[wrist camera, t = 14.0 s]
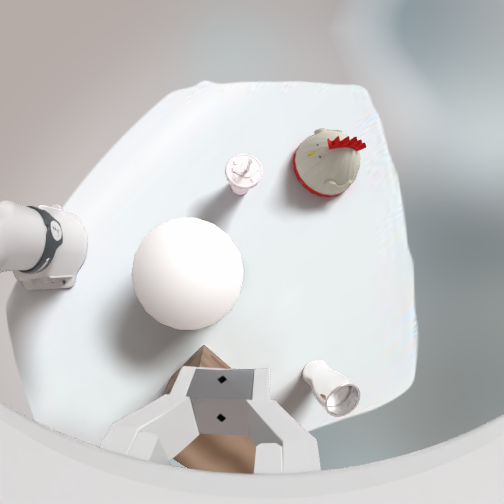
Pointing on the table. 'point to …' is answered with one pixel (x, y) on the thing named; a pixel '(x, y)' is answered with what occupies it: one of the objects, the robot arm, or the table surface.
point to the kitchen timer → (328, 162)
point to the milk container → (187, 273)
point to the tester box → (215, 435)
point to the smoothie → (243, 173)
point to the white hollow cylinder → (331, 388)
